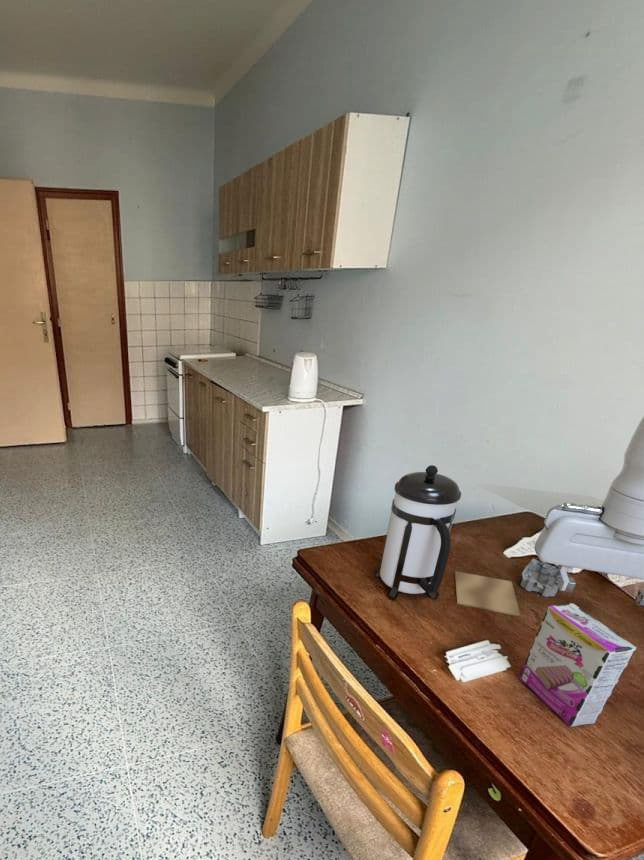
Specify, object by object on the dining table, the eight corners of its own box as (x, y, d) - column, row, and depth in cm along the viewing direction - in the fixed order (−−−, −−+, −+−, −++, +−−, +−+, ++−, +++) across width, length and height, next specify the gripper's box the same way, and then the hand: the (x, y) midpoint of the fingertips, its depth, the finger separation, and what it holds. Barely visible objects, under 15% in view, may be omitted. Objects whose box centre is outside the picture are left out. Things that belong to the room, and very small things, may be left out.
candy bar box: (515, 678, 85) (546, 604, 77) (540, 675, 85) (572, 601, 78) (569, 729, 75) (609, 651, 67) (596, 725, 76) (639, 646, 68)
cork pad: (511, 583, 111) (511, 581, 111) (519, 617, 100) (520, 615, 100) (454, 572, 116) (455, 571, 116) (456, 604, 105) (457, 602, 104)
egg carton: (553, 600, 105) (559, 585, 103) (515, 587, 110) (520, 572, 108) (564, 581, 112) (570, 566, 110) (528, 569, 116) (533, 555, 114)
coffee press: (356, 587, 111) (377, 466, 97) (391, 563, 120) (415, 449, 106) (429, 621, 100) (465, 490, 85) (461, 591, 109) (499, 468, 95)
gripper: (556, 509, 65) (524, 592, 71) (756, 536, 57) (700, 626, 64) (547, 492, 70) (518, 571, 76) (730, 516, 62) (680, 600, 69)
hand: (602, 596), depth 70 cm, fingers open, 8 cm apart
